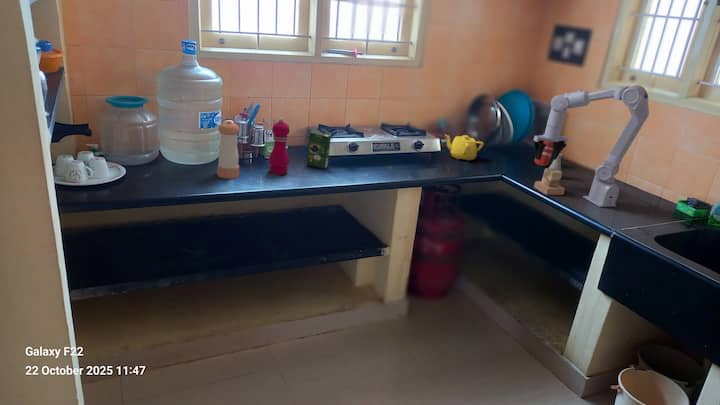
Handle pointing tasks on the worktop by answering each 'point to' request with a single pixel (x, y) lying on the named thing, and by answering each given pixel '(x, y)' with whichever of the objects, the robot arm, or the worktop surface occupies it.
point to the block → (551, 177)
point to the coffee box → (318, 149)
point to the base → (549, 189)
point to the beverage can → (545, 155)
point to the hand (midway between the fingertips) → (545, 159)
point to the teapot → (463, 147)
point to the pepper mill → (279, 148)
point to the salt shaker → (228, 151)
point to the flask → (557, 163)
